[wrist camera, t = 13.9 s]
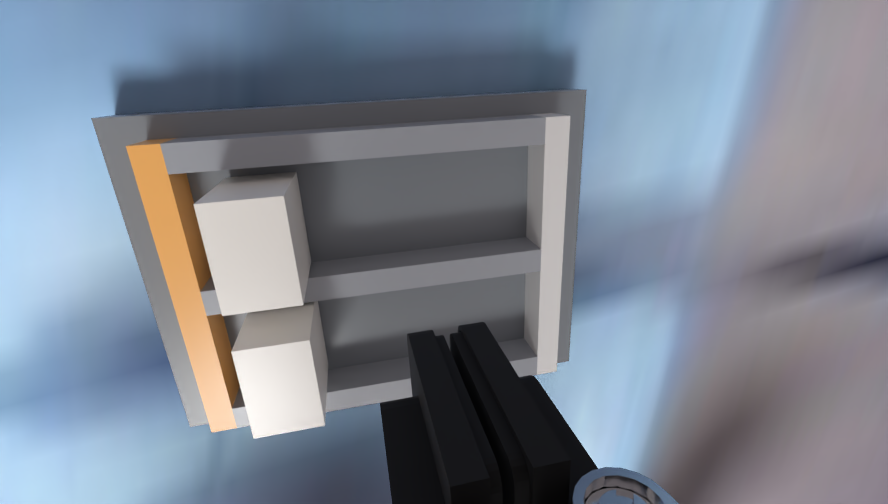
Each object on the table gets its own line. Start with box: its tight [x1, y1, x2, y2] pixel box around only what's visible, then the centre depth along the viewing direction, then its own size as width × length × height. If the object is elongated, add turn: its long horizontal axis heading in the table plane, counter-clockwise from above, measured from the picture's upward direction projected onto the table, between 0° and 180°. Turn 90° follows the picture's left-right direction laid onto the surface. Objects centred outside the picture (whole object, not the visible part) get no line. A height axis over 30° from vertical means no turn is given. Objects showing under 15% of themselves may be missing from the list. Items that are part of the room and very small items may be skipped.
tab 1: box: [193, 172, 311, 316], centre depth 19 cm, size 3×4×5 cm
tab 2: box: [231, 301, 328, 439], centre depth 21 cm, size 3×4×5 cm
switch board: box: [91, 89, 586, 433], centre depth 23 cm, size 22×16×4 cm
